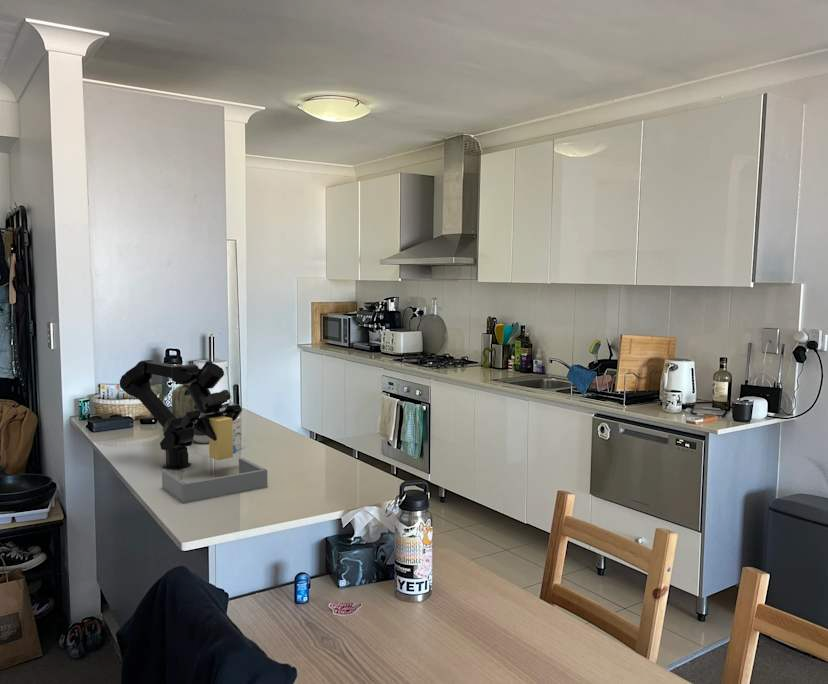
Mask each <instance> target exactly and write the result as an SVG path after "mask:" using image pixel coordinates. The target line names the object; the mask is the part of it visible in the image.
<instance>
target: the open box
mask: <svg viewBox="0 0 828 684" xmlns="http://www.w3.org/2000/svg"><path fill="white" fill-rule="evenodd" d="M161 477H162V478H161V481H162V482H161V484H162V485H161V487H162V489H163V490H164V491H166V492H167V493H168V494H170V495H171V496H172V497H174V498H175V499H177V500H178V501H179V502H181V503H182V504H186V503H187V504H188V503H192V502H198V501H204V500H208V499H212V498H219V497H222V496H223V497H224V496H229V495H234V494H239V493H245V492H249V491H250V492H251V491H255V490H261V489H266V488H268V469H266V468H264V467H263V466H260V465H258V464H256V463H254V462H252V461H250V460H248V459H246V458H244V457H239V458H238V473H235V474H229V475H224V476H218V477H212V478H206V479H200V480H195V481H191V482H185V481H183V480H181V479H180V478H178V477H177V476H176V475H175V474H173V473H171V472H170V471H169V470H167V469H164V470H163V469H162V470H161Z"/></svg>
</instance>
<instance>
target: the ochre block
mask: <svg viewBox="0 0 828 684" xmlns="http://www.w3.org/2000/svg"><path fill="white" fill-rule="evenodd" d="M209 423H210V425H211V427H212V429H213V431H214V433H215V435H216V438H217V439H216V441H214V440H213V439H211V438H210V437H209V443H208V447H209V448H208V449H209V450H208V451H209V452H208V453H209V454H208V455H209V458H210V459H214V460H217V461H221V460H226V459H230V458H233V457H234V453H233V426H232V418H229V417H224V416H221V417H215V418H209Z"/></svg>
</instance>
